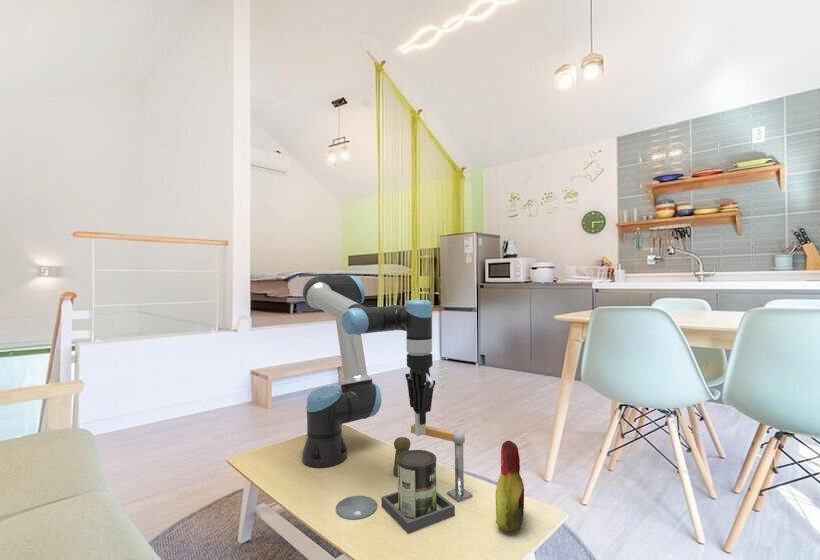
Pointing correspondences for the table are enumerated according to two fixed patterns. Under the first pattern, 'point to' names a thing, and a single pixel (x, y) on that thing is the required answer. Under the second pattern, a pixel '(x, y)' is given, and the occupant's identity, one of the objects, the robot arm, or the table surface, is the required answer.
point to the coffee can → (416, 483)
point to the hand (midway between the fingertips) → (420, 434)
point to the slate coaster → (356, 507)
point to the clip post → (459, 477)
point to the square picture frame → (421, 521)
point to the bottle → (509, 489)
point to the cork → (400, 451)
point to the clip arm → (444, 434)
